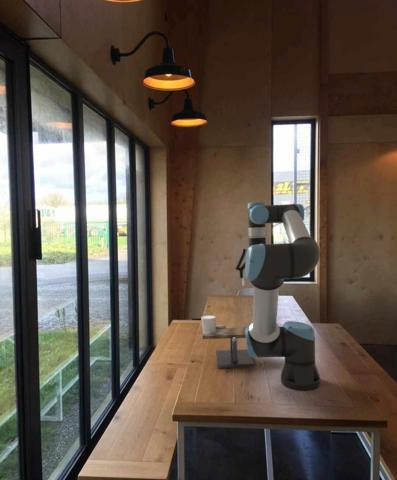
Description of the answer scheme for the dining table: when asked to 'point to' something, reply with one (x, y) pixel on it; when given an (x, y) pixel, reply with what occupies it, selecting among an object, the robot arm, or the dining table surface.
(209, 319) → the shot glass
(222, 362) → the stand
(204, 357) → the dining table surface
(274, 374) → the dining table surface
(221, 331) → the beam
